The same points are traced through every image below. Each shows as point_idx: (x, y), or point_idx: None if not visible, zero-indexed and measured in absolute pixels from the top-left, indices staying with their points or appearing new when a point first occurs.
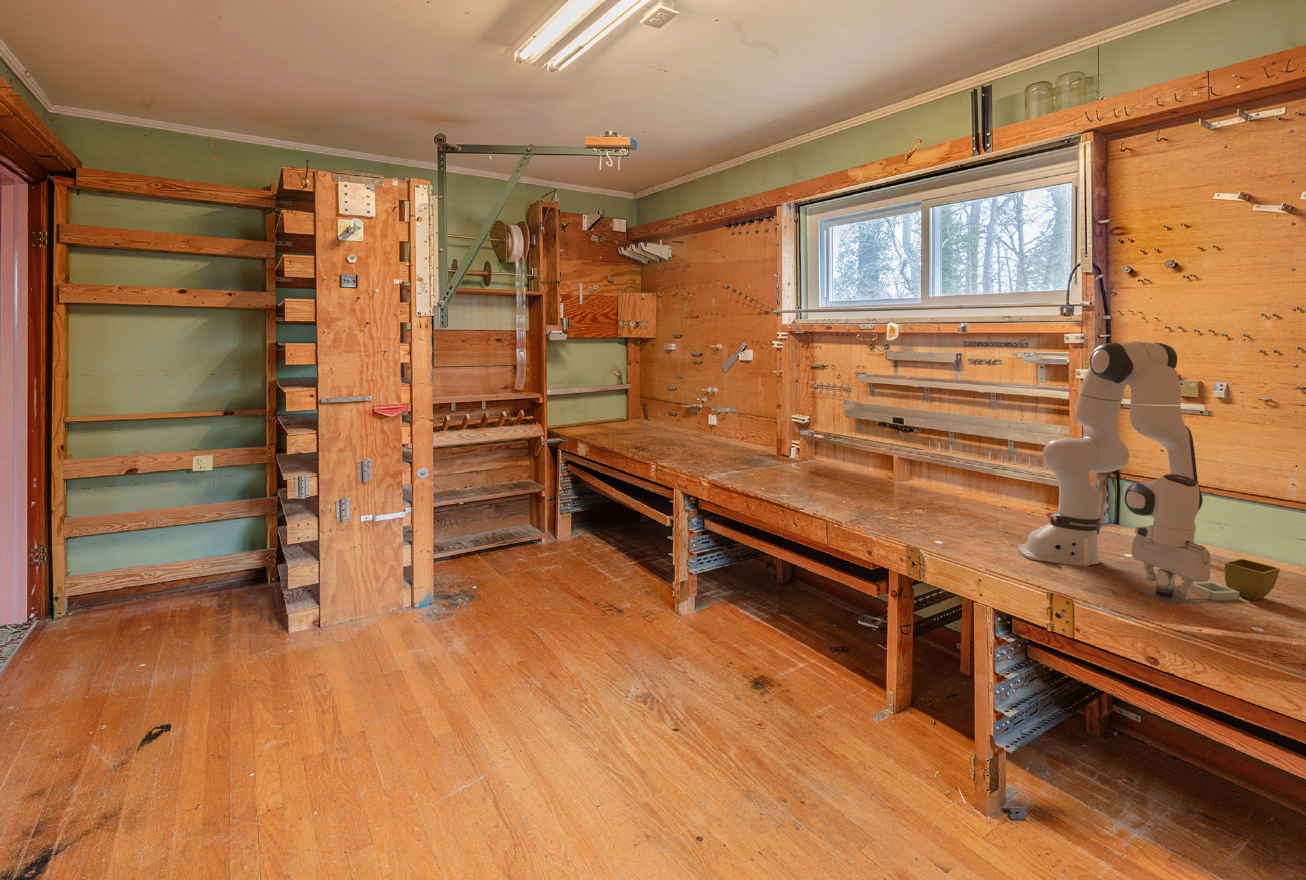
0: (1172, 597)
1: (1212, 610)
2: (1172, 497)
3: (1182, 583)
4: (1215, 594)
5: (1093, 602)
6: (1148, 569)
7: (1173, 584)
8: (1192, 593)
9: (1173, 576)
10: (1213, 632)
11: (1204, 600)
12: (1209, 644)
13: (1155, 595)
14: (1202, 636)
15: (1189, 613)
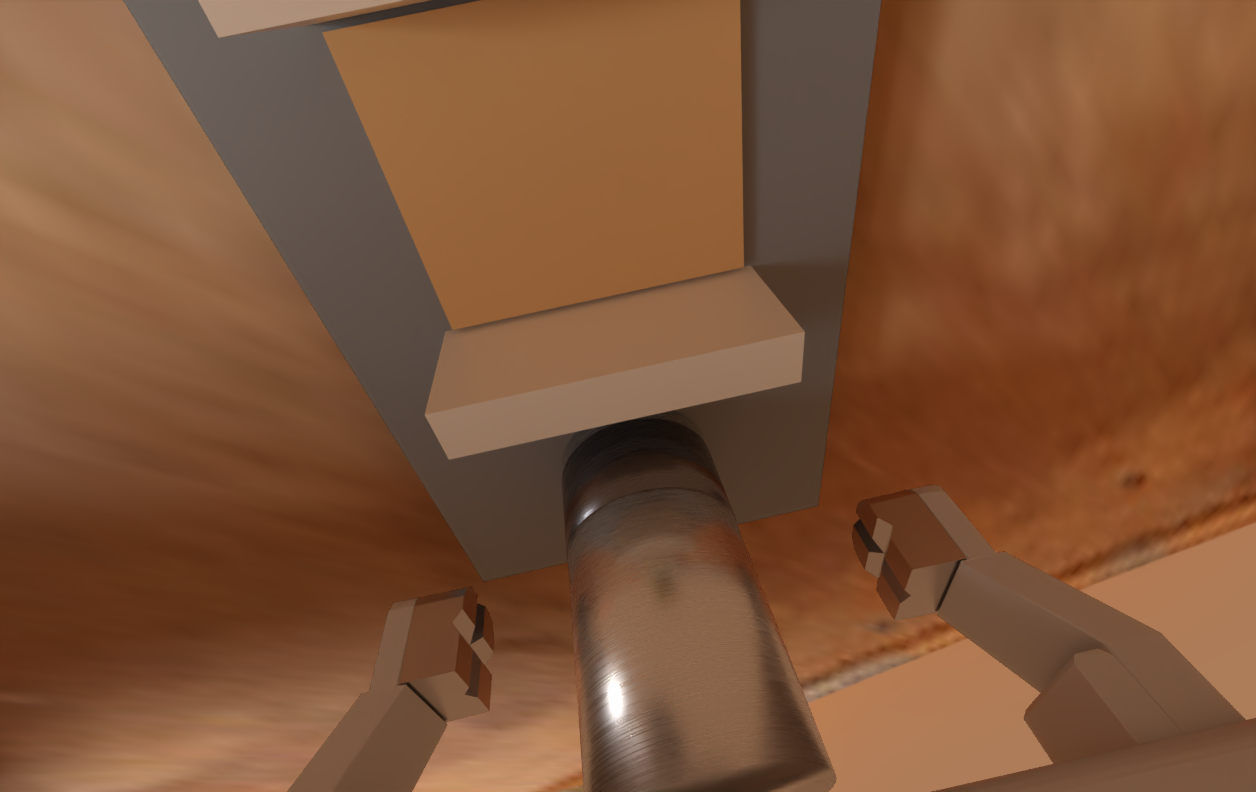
0: (677, 409)
1: (974, 87)
2: None
3: (1006, 661)
4: None
5: None
6: (397, 788)
7: (753, 568)
8: (504, 14)
9: (810, 713)
10: (1206, 431)
11: (800, 24)
12: (1239, 521)
13: None
14: (1181, 507)
15: (940, 397)
